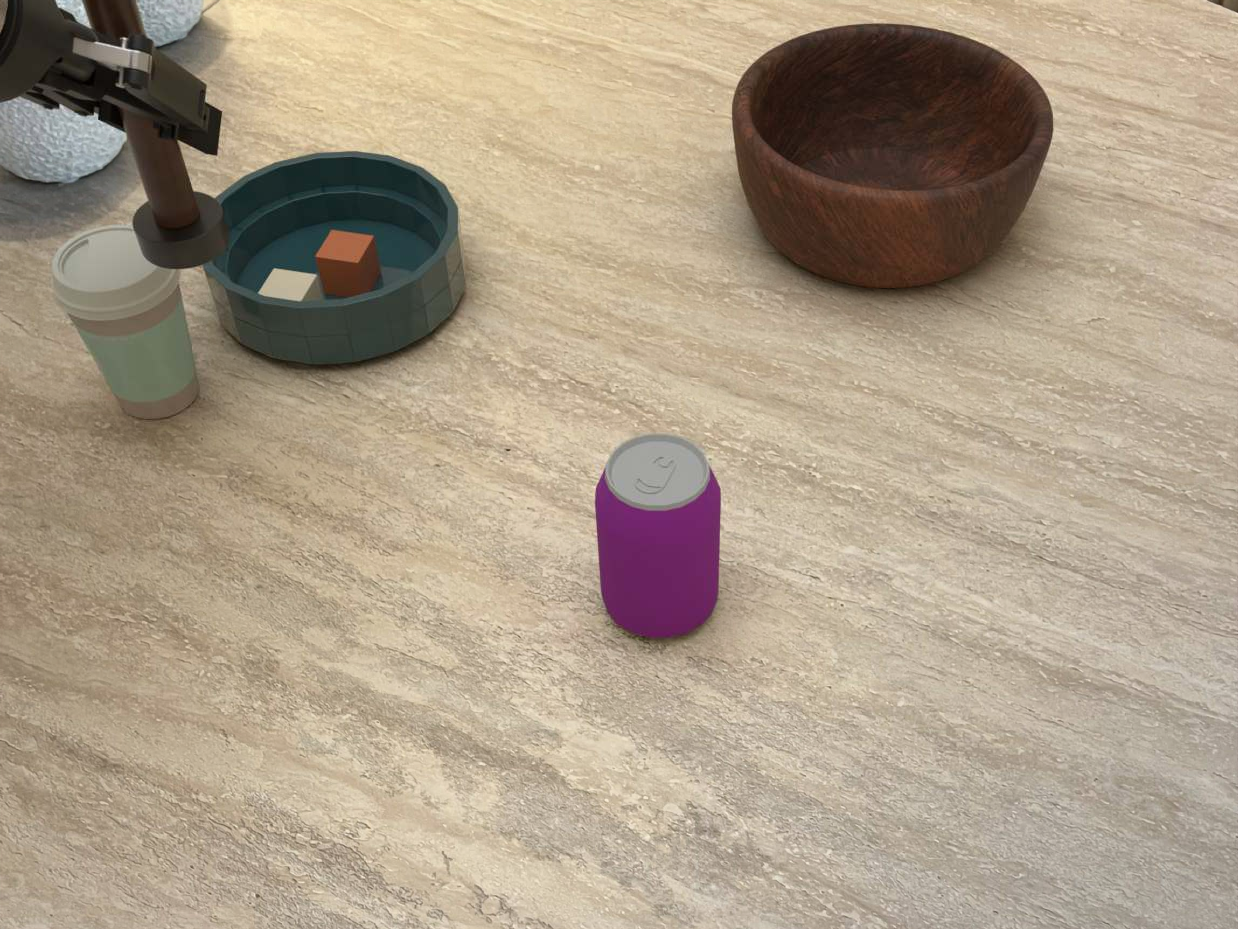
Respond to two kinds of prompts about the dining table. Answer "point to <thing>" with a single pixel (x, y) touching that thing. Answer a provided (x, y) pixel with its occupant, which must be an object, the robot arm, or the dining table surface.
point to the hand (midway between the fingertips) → (187, 128)
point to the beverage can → (658, 535)
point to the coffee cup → (128, 319)
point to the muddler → (161, 171)
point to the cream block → (292, 286)
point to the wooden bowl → (888, 150)
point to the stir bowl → (293, 234)
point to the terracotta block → (348, 264)
